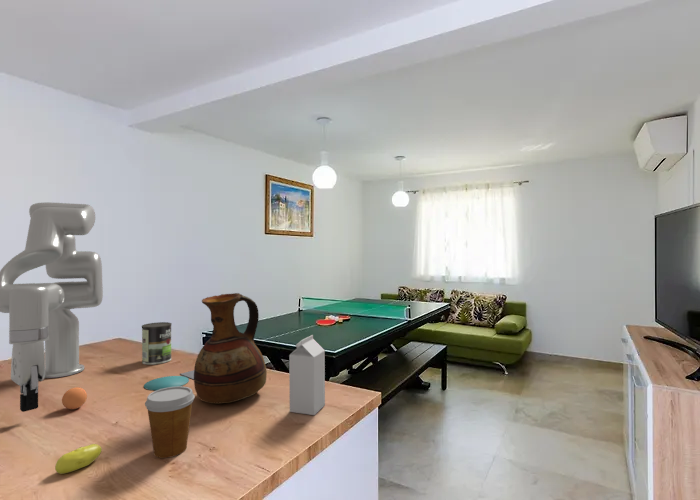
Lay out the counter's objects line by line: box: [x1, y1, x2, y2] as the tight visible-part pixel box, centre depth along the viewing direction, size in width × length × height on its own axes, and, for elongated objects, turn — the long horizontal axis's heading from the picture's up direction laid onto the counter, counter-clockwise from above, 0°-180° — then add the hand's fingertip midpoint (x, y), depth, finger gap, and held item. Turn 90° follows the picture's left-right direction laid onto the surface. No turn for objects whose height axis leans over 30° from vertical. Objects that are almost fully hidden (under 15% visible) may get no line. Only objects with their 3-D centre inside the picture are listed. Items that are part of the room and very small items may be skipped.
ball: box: [61, 386, 88, 410], centre depth 103 cm, size 6×6×6 cm
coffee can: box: [141, 321, 172, 366], centre depth 148 cm, size 10×10×14 cm
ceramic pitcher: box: [193, 292, 267, 404], centre depth 112 cm, size 20×20×30 cm
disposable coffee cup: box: [144, 386, 195, 459], centre depth 81 cm, size 10×10×12 cm
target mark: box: [143, 375, 190, 391], centre depth 123 cm, size 13×13×1 cm
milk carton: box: [288, 334, 326, 416], centre depth 102 cm, size 7×7×19 cm
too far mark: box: [179, 369, 194, 381], centre depth 132 cm, size 10×10×1 cm
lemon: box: [54, 443, 103, 475], centre depth 75 cm, size 4×8×4 cm, turn 145°
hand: (29, 409), depth 96 cm, fingers closed
